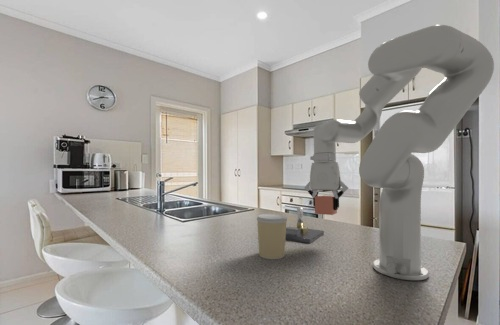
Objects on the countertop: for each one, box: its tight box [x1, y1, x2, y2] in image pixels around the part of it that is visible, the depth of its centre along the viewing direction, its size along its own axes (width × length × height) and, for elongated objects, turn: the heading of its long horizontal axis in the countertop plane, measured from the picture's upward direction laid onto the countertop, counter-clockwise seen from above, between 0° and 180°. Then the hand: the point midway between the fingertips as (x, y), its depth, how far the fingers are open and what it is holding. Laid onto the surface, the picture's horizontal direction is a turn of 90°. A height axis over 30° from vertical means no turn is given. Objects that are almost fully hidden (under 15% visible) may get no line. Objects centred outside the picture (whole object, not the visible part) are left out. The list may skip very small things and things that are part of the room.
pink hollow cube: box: [314, 195, 338, 216], centre depth 92 cm, size 6×6×6 cm
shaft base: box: [285, 206, 325, 244], centre depth 103 cm, size 16×13×11 cm
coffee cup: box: [256, 213, 288, 260], centre depth 80 cm, size 9×9×12 cm
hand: (326, 208), depth 92 cm, fingers closed on pink hollow cube, 6 cm apart
